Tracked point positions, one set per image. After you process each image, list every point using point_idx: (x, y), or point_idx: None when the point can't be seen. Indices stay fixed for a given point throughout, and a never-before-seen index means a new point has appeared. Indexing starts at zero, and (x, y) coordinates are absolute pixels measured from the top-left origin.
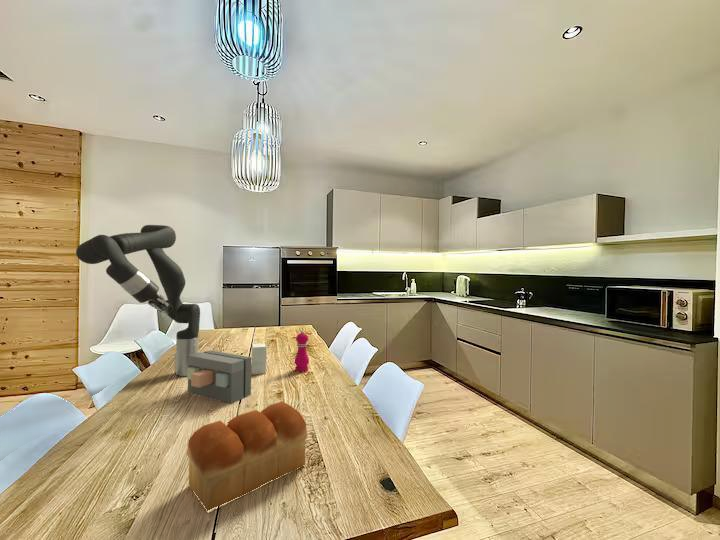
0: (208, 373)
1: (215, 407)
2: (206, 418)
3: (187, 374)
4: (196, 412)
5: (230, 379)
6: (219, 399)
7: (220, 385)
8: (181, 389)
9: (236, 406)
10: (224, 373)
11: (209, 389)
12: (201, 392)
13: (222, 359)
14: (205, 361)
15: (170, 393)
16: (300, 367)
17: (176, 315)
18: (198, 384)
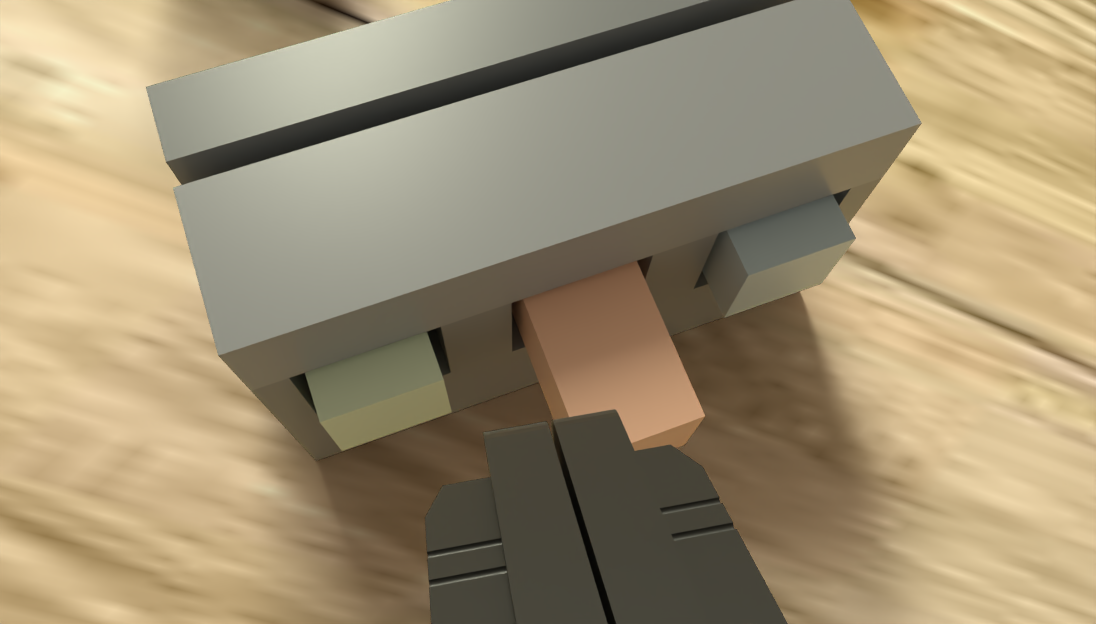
0: (658, 317)
1: (796, 400)
2: (962, 520)
3: (338, 439)
4: (805, 541)
5: (848, 209)
6: (686, 327)
7: (782, 294)
8: (188, 477)
9: (871, 282)
10: (786, 212)
11: None
12: (484, 392)
13: (692, 131)
14: (531, 266)
15: (218, 584)
16: None
17: (711, 505)
18: (678, 442)
